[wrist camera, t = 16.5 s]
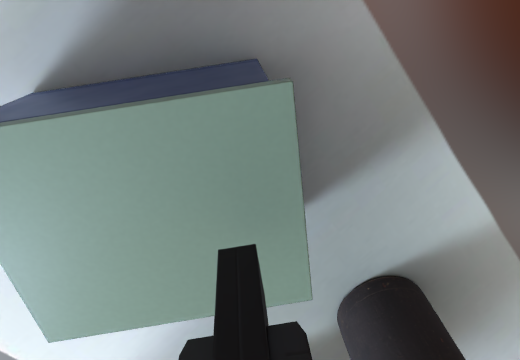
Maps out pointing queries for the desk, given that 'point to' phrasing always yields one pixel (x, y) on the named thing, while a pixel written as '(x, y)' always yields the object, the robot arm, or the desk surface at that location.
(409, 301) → the container
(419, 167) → the desk surface
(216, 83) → the case
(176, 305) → the case lid
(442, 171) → the desk surface
